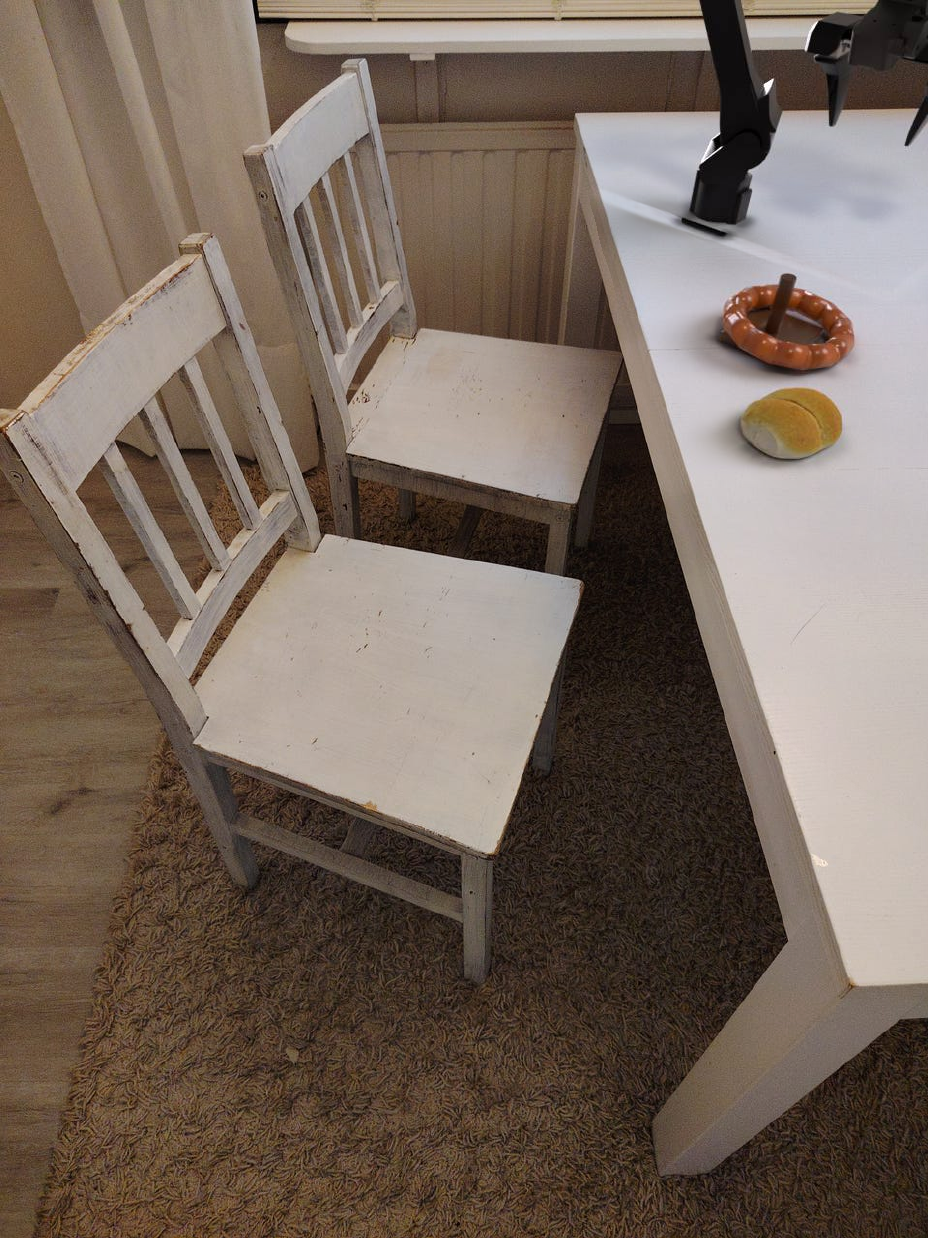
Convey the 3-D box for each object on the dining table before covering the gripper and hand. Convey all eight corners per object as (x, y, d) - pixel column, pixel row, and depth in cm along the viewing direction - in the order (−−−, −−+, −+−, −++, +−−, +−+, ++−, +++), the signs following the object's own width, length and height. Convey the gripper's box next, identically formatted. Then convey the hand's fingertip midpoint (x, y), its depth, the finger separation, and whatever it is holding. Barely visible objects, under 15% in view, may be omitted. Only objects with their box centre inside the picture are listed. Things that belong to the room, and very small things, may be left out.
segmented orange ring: (696, 330, 85) (703, 310, 84) (760, 287, 92) (768, 267, 90) (809, 390, 80) (819, 370, 78) (869, 339, 87) (879, 320, 85)
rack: (718, 339, 87) (734, 278, 82) (757, 311, 91) (774, 250, 86) (784, 367, 84) (804, 305, 78) (821, 336, 87) (843, 275, 82)
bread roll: (852, 438, 76) (868, 403, 73) (787, 473, 73) (801, 438, 70) (787, 396, 80) (799, 361, 77) (723, 427, 77) (732, 392, 74)
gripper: (802, -34, 81) (761, 135, 93) (988, -3, 72) (917, 179, 85) (854, -54, 86) (808, 109, 98) (1033, -28, 77) (960, 147, 89)
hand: (869, 135), depth 92 cm, fingers open, 9 cm apart
